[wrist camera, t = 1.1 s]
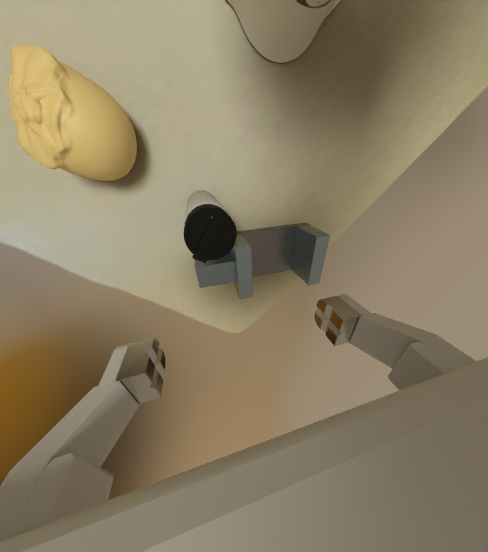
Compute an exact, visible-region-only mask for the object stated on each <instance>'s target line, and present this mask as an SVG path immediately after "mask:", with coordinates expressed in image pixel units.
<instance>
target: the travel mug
mask: <svg viewBox="0 0 488 552" xmlns="http://www.w3.org/2000/svg"><path fill="white" fill-rule="evenodd" d="M236 238H237V231H236V226H235V223H234V222H233V220H232V219H231V217H230V216H229V214H228V213H227V212H226V210H225V209H224V208H223V207H222V206H221V205H220V203H219V202H218V201H217V200H216V199H215V198H214V196H213V195H211V194H210V193H208V192H206V191H197V192H195V193H193V194H192V195H191V196H190V198H189V199H188V203H187V210H186V216H185V224H184V239H185V243H186V245H187V247H188V249H189V250H190V251H191V252H192V253H193V254H194V255H193V258H194V259H196V260H198V261H200V262H203V263H206V262H207V260H217V259H220V258H222V257H224V256H226V255H227V254H228V253H229V252H230V251H231V250H232V248H233V247H234V245H235V242H236Z"/></svg>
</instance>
